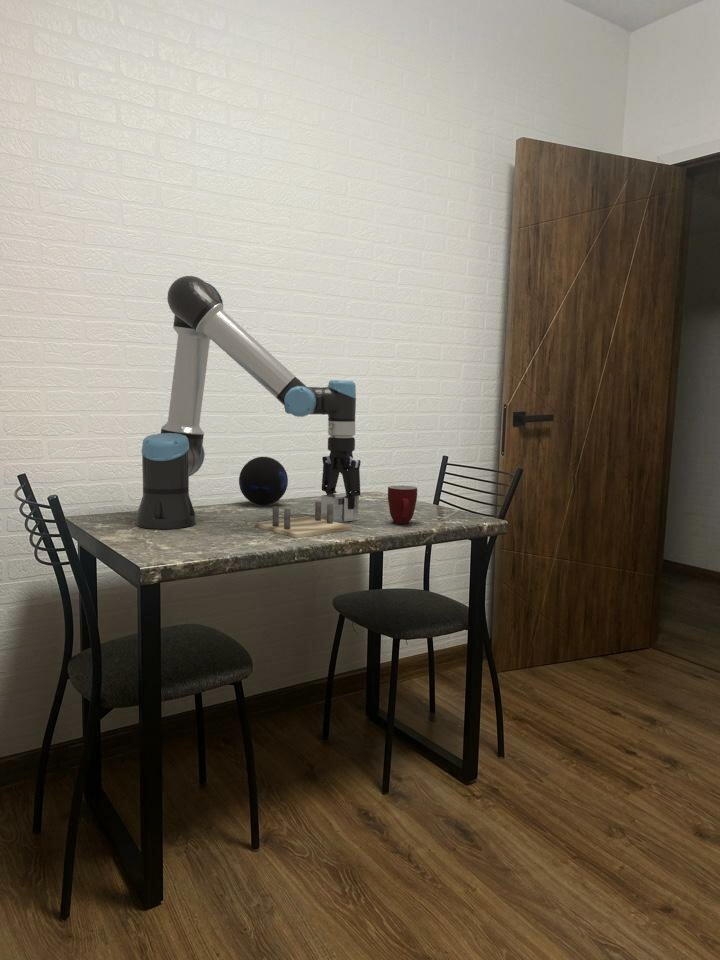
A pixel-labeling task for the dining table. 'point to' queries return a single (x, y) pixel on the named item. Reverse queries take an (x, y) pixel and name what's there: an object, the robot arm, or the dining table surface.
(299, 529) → the wooden peg board
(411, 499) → the mug
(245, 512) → the dining table surface
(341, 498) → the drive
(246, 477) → the decorative sphere
